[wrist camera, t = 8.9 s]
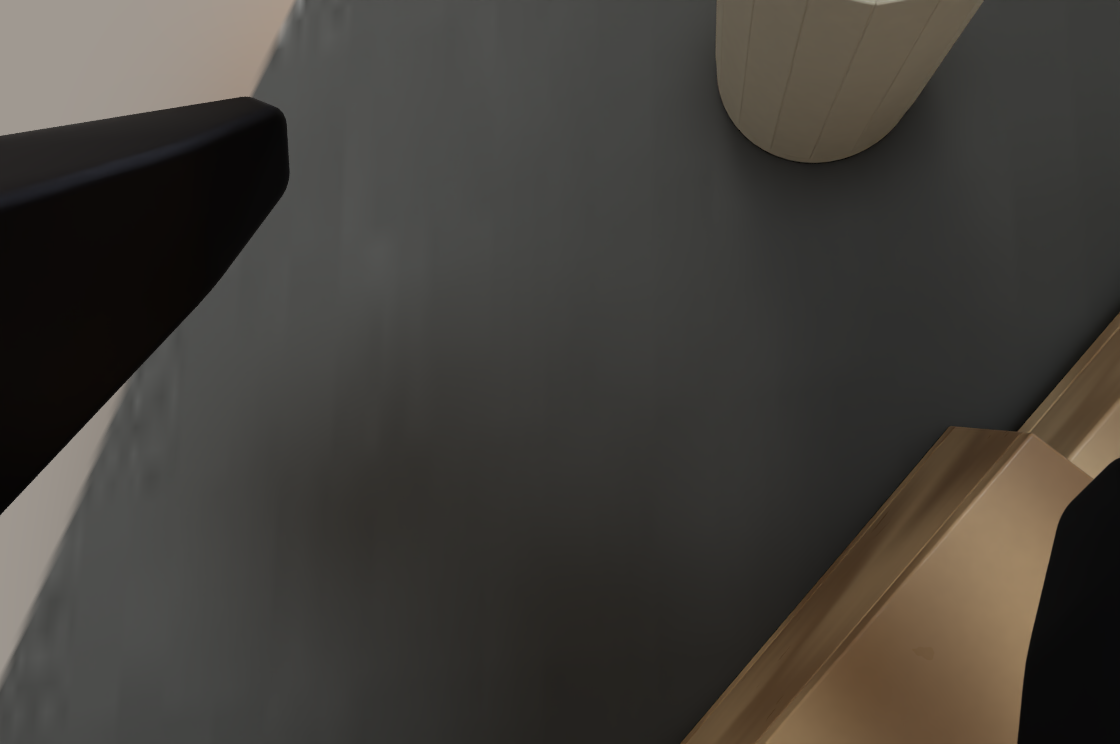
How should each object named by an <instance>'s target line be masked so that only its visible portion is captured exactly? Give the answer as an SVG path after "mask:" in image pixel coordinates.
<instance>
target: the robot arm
mask: <svg viewBox="0 0 1120 744" xmlns="http://www.w3.org/2000/svg"><path fill="white" fill-rule="evenodd" d="M288 181H289V155H288V138H287V124H286V119H285V116H284V114H283V113H282V112H281V111H280V110H279V109H278V108H276V107H274V106H272V105H269V104H267V103H264V102H262V101H259V100H257V99H254V98H251V97H239V98H232V99H226V100H220V101H214V102H208V103H201V104H195V105H189V106H183V107H177V108H170V109H165V110H158V111H152V112H146V113H139V114H133V115H127V116H121V117H115V118H109V119H103V120H96V121H90V122H84V123H78V124H71V125H65V126H59V127H53V128H47V129H40V130H34V131H28V132H22V133H16V134H9V135H3V136H0V515H1V514H2V513H3V512H4V510H5V509H6V508H7V507H8V506H9V505H10V504H11V503H12V502H13V501H14V500H15V499H16V498H17V497H18V496H19V494H20V493H21V492H22V491H23V490H24V489H25V488H26V487H27V486H28V485H29V484H30V483H31V482H32V481H33V480H34V479H35V477H36V476H37V475H38V474H39V473H40V472H41V471H42V470H43V469H44V468H45V467H46V466H47V465H48V463H50V462H51V460H53V458H54V457H55V456H56V455H57V454H58V453H59V452H60V451H61V450H62V449H63V448H64V447H65V446H66V445H67V444H68V443H69V441H70V440H71V439H72V438H73V437H74V436H75V435H76V434H77V433H78V432H79V431H80V430H81V429H82V428H83V427H84V426H85V424H86V423H87V422H88V421H89V420H90V419H91V418H92V417H93V416H94V415H95V414H96V413H97V412H98V410H99V409H100V408H101V407H102V406H103V405H104V404H105V403H106V402H107V401H108V400H109V399H110V398H111V397H112V396H113V395H114V394H115V393H116V392H117V390H118V389H119V388H120V387H121V386H122V385H123V384H124V383H125V382H126V381H127V380H128V379H129V378H130V377H131V376H132V375H133V374H134V372H135V371H136V370H137V369H138V368H139V367H140V366H141V365H142V364H143V363H144V362H145V361H146V360H147V359H148V358H149V357H150V355H151V354H152V353H153V352H154V351H155V350H156V349H157V348H158V347H159V346H160V345H161V344H162V343H163V342H164V341H165V340H166V338H167V337H168V336H169V335H170V334H171V333H172V332H173V331H174V330H175V329H176V328H177V327H178V326H179V325H180V324H181V323H182V321H183V320H184V319H185V318H186V317H187V316H188V315H189V314H190V313H191V312H192V311H193V310H194V309H195V308H196V307H197V306H198V304H199V303H200V302H201V301H202V300H203V299H204V298H205V297H206V295H207V294H208V293H209V292H210V291H211V290H212V288H213V287H214V286H215V285H216V284H217V282H218V281H219V280H220V279H221V277H222V276H223V275H224V273H225V272H226V271H227V269H228V268H229V267H230V265H231V264H232V263H233V261H234V260H235V259H236V257H237V256H238V255H239V253H240V252H241V251H242V249H243V248H244V247H245V245H246V244H247V243H248V241H249V240H250V239H251V237H252V236H253V234H254V233H255V232H256V230H257V229H258V228H259V226H260V225H261V224H262V222H263V221H264V220H265V218H266V217H267V216H268V214H269V213H270V212H271V210H272V209H273V208H274V206H275V205H276V204H277V202H278V201H279V200H280V198H281V197H282V195H283V194H284V192H285V190H286V188H287V184H288ZM1017 744H1120V457H1119V458H1117V459H1115V460H1114V461H1112V462H1111V463H1110V464H1109V465H1108V466H1107V467H1106V468H1105V469H1104V470H1103V471H1102V472H1101V473H1100V474H1099V475H1098V476H1097V477H1096V478H1094V479H1093V480H1092V481H1091V482H1090V483H1089V484H1088V485H1087V486H1086V487H1085V488H1084V489H1083V490H1082V491H1081V492H1080V493H1079V494H1078V495H1077V496H1076V497H1075V498H1074V499H1073V500H1072V501H1071V502H1070V504H1069V505H1068V506H1067V507H1066V509H1065V510H1064V512H1063V514H1062V516H1061V518H1060V520H1059V523H1058V526H1057V529H1056V534H1055V538H1054V542H1053V546H1052V550H1051V555H1050V559H1049V563H1048V567H1047V571H1046V575H1045V580H1044V584H1043V588H1042V592H1041V596H1040V601H1039V605H1038V609H1037V613H1036V617H1035V622H1034V626H1033V630H1032V634H1031V638H1030V643H1029V648H1028V653H1027V658H1026V664H1025V672H1024V680H1023V689H1022V699H1021V709H1020V719H1019V730H1018V740H1017Z"/></svg>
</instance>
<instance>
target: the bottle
mask: <svg viewBox="0 0 1120 744" xmlns="http://www.w3.org/2000/svg"><path fill="white" fill-rule="evenodd" d="M983 1H984V0H717V17H716V65H717V82H718V87H719V93H720V96H721V99H722V102H723V105H724V107H725V109H726V111H727V113H728V115H729V117H730V118H731V120H732V121H733V123H734V124H735V126H736V127H737V128H738V129H739V130H740V131H741V132H742V134H743V135H744V136H745V137H747V138H748V139H749V140H750V141H751V142H753V143H754V144H755V145H757V146H758V147H760V148H761V149H763V150H765V151H767V152H769V153H771V154H773V155H775V156H778V157H781V158H784V159H788V160H792V161H798V162H808V163H820V162H830V161H835V160H840V159H844V158H847V157H850V156H853V155H855V154H857V153H859V152H861V151H864V150H866V149H868V148H869V147H871V146H872V145H874V144H875V143H877V142H878V141H880V140H881V139H882V138H883V137H884V136H886V135H887V134H888V133H889V132H890V131H891V130H892V129H893V128H894V127H895V126H896V125H897V123H898V122H899V121H900V119H901V118H902V117H903V115H904V114H905V113H906V111H907V110H908V109H909V108H910V107H911V105H912V104H913V103H914V102H915V100H916V99H917V97H918V96H919V94H920V93H921V92H922V90H923V89H924V87H925V86H926V84H927V83H928V81H929V80H930V78H931V77H932V75H933V74H934V73H935V71H936V70H937V68H938V67H939V65H940V64H941V62H942V61H943V59H944V58H945V56H946V55H947V54H948V52H949V51H950V49H951V48H952V46H953V45H954V43H955V42H956V40H957V39H958V38H959V36H960V35H961V33H962V32H963V30H964V29H965V27H966V26H967V24H968V23H969V21H970V20H971V19H972V17H973V16H974V14H975V13H976V11H977V10H978V8H979V7H980V5H981V4H982V2H983Z"/></svg>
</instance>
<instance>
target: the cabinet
mask: <svg viewBox="0 0 1120 744" xmlns="http://www.w3.org/2000/svg"><path fill="white" fill-rule="evenodd" d="M1092 480H1093V478H1092V477H1091V476H1089V475H1088V474H1087V473H1085V472H1084V471H1083V470H1081V469H1080V468H1079V467H1077V466H1076V465H1075V464H1073V463H1072V462H1071V461H1070V460H1068V459H1067V458H1066V457H1064V456H1063V455H1062V454H1060V453H1059V452H1058V451H1056V450H1055V449H1054V448H1052V447H1051V446H1050V445H1048V444H1047V443H1046V442H1044V441H1043V440H1042V439H1040V438H1039V437H1038V436H1036V435H1035V434H1034V433H1027V432H1024V433H1023V432H1014V431H1002V430H990V429H978V428H967V427H955V426H950V427H949V428H948V429H947V430H946V431H945V432H944V433H943V435H942V436H941V437H940V438H939V439H938V441H937V442H936V443H935V444H934V445H933V446H932V448H931V449H930V450H929V451H928V452H927V453H926V455H925V456H924V457H923V458H922V459H921V461H920V462H919V463H918V464H917V465H916V466H915V468H914V469H913V470H912V471H911V472H910V474H909V475H908V476H907V477H906V478H905V479H904V481H903V482H902V483H901V484H900V485H899V486H898V488H897V489H896V490H895V491H894V492H893V494H892V495H891V496H890V497H889V498H888V499H887V501H886V502H885V503H884V504H883V505H882V506H881V508H880V509H879V510H878V511H877V512H876V514H875V515H874V516H873V517H872V518H871V519H870V521H869V522H868V523H867V524H866V525H865V527H864V528H863V529H862V530H861V531H860V532H859V534H858V535H857V536H856V537H855V538H854V539H853V541H852V542H851V543H850V544H849V545H848V547H847V548H846V549H845V550H844V551H843V552H842V554H841V555H840V556H839V557H838V558H837V560H836V561H835V562H834V563H833V564H832V565H831V567H830V568H829V569H828V570H827V571H826V572H825V574H824V575H823V576H822V577H821V578H820V580H819V581H818V582H817V583H816V584H815V585H814V587H813V588H812V589H811V590H810V591H809V593H808V594H807V595H806V596H805V597H804V598H803V600H802V601H801V602H800V603H799V604H798V605H797V607H796V608H795V609H794V610H793V611H792V613H791V614H790V615H789V616H788V617H787V618H786V620H785V621H784V622H783V623H782V624H781V626H780V627H779V628H778V629H777V630H776V631H775V633H774V634H773V635H772V636H771V637H770V638H769V640H768V641H767V642H766V643H765V644H764V646H763V647H762V648H761V649H760V650H759V651H758V653H757V654H756V655H755V656H754V657H753V658H752V660H751V661H750V662H749V663H748V664H747V666H746V667H745V668H744V669H743V670H742V671H741V673H740V674H739V675H738V676H737V677H736V679H735V680H734V681H733V682H732V683H731V684H730V686H729V687H728V688H727V689H726V690H725V691H724V693H723V694H722V695H721V696H720V697H719V699H718V700H717V701H716V702H715V703H714V704H713V706H712V707H711V708H710V709H709V710H708V712H707V713H706V714H705V715H704V716H703V717H702V719H701V720H700V721H699V722H698V723H697V724H696V726H695V727H694V728H693V729H692V730H691V732H690V733H689V734H688V735H687V736H686V737H685V739H684V740H683V741H682V742H681V743H680V744H1017V740H1018V730H1019V719H1020V709H1021V699H1022V689H1023V680H1024V672H1025V664H1026V658H1027V653H1028V648H1029V643H1030V638H1031V634H1032V630H1033V626H1034V622H1035V617H1036V613H1037V609H1038V605H1039V601H1040V596H1041V592H1042V588H1043V584H1044V580H1045V575H1046V571H1047V567H1048V563H1049V559H1050V555H1051V550H1052V546H1053V542H1054V538H1055V534H1056V529H1057V526H1058V523H1059V520H1060V518H1061V516H1062V514H1063V512H1064V510H1065V509H1066V507H1067V506H1068V505H1069V504H1070V502H1071V501H1072V500H1073V499H1074V498H1075V497H1076V496H1077V495H1078V494H1079V493H1080V492H1081V491H1082V490H1083V489H1084V488H1085V487H1086V486H1087V485H1088V484H1089V483H1090V482H1091V481H1092Z"/></svg>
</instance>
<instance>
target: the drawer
mask: <svg viewBox="0 0 1120 744" xmlns="http://www.w3.org/2000/svg"><path fill="white" fill-rule="evenodd" d="M1018 432H1023V433H1024V432H1027V433H1034V434H1035V435H1036V436H1038V437H1039V438H1040V439H1042V440H1043V441H1044V442H1046V443H1047V444H1048V445H1050V446H1051V447H1052V448H1054V449H1055V450H1056V451H1058V452H1059V453H1060V454H1062V455H1063V456H1064V457H1066V458H1067V459H1068V460H1070V461H1071V462H1072V463H1073V464H1075V465H1076V466H1077V467H1079V468H1080V469H1081V470H1083V471H1084V472H1085V473H1087V474H1088V475H1089V476H1091V477H1092V478H1093V479H1094V478H1096V477H1097V476H1098V475H1099V474H1100V473H1101V472H1102V471H1103V470H1104V469H1105V468H1106V467H1107V466H1108V465H1109V464H1110V463H1111V462H1112V461H1114V460H1115V459H1117V458H1119V457H1120V312H1119V314H1118V315H1117V316H1116V317H1115V318H1114V319H1113V321H1112V322H1111V323H1110V324H1109V325H1108V326H1107V328H1106V329H1105V330H1104V331H1103V332H1102V333H1101V335H1100V336H1099V337H1098V338H1097V339H1096V341H1095V342H1094V343H1093V344H1092V345H1091V346H1090V348H1089V349H1088V350H1087V351H1086V352H1085V353H1084V355H1083V356H1082V357H1081V358H1080V359H1079V360H1078V362H1077V363H1076V364H1075V365H1074V366H1073V367H1072V369H1071V370H1070V371H1069V372H1068V373H1067V374H1066V376H1065V377H1064V378H1063V379H1062V380H1061V381H1060V383H1059V384H1058V385H1057V386H1056V387H1055V388H1054V390H1053V391H1052V392H1051V393H1050V394H1049V395H1048V397H1047V398H1046V399H1045V400H1044V401H1043V402H1042V404H1041V405H1040V406H1039V407H1038V408H1037V409H1036V411H1035V412H1034V413H1033V414H1032V415H1031V416H1030V418H1029V419H1028V420H1027V421H1026V422H1025V423H1024V425H1023V426H1022V427H1021V428H1020V429H1019V430H1018Z"/></svg>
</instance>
